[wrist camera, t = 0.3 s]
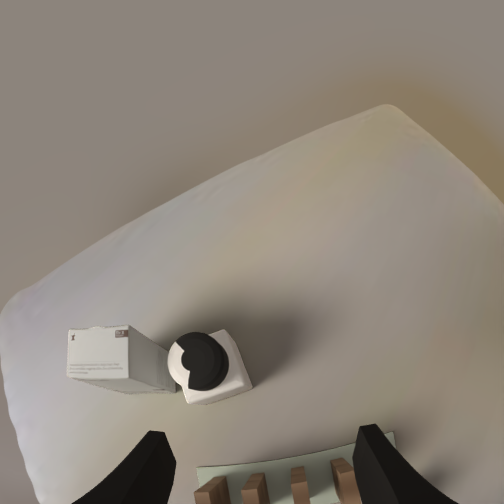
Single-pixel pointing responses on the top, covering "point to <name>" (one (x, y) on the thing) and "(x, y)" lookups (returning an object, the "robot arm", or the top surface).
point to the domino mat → (286, 475)
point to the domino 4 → (345, 482)
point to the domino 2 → (255, 490)
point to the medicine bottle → (208, 367)
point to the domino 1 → (213, 492)
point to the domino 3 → (299, 486)
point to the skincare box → (118, 360)
